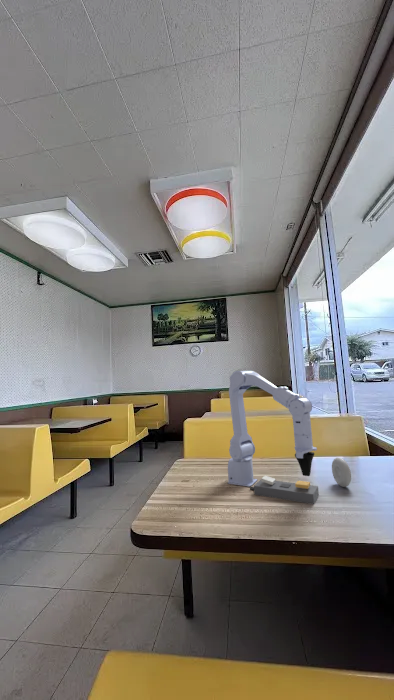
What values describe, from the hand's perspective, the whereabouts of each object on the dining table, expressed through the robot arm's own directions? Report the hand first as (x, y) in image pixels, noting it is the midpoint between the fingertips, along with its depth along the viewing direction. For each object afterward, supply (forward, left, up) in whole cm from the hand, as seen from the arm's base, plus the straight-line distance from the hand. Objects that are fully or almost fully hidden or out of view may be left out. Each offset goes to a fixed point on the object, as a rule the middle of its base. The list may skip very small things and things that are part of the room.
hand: (306, 475), depth 101 cm
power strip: (-9, 0, -7) cm, 12 cm away
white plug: (-13, 0, -4) cm, 14 cm away
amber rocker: (-1, 0, -4) cm, 4 cm away
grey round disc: (+9, +16, -8) cm, 20 cm away
